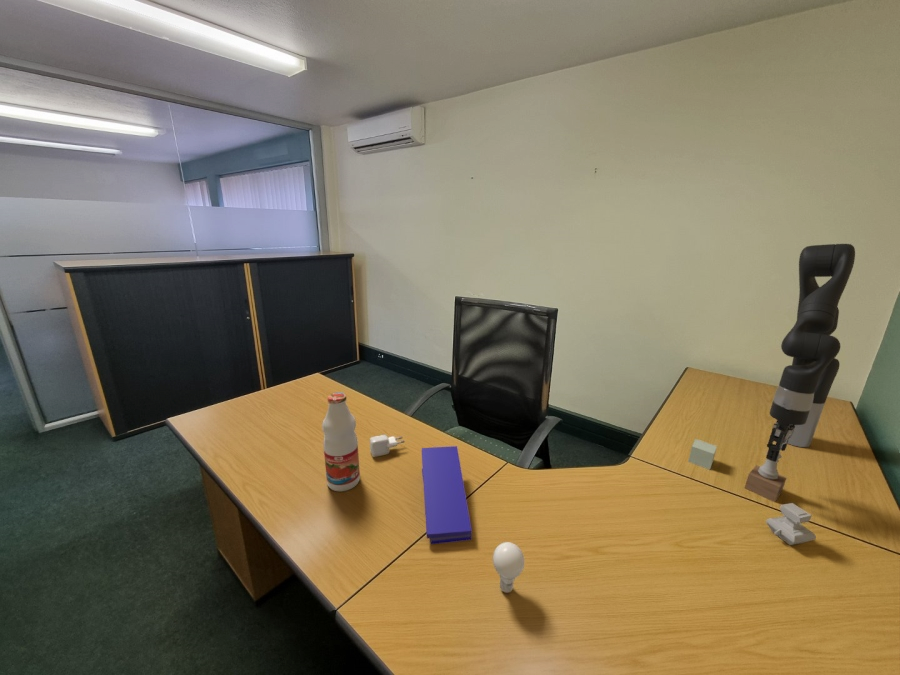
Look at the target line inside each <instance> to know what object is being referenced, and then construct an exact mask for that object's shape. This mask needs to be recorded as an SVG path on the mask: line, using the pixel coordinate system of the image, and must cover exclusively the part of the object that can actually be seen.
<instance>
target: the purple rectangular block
mask: <svg viewBox="0 0 900 675" xmlns="http://www.w3.org/2000/svg"><path fill="white" fill-rule="evenodd" d="M421 463H422V468H421V473H422V474H421V475H422V482H423V495H424V511H425V512H424V513H425V514H424V516H425V528H426V539H429V540H430V545H436V544H437V545H438V544H446V543H454V542H455V543H456V542H463V541H470V540H472V535H473V533H472V524H471V520H470V519H471V518H470V512H469V508H468V502H467V496H466V495H467V494H466V490H465V485H464V478H463V473H462V468H461V462H460V456H459V449H458V446H457V445H453V446H435V447H434V446H433V447H422V448H421Z"/></svg>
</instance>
